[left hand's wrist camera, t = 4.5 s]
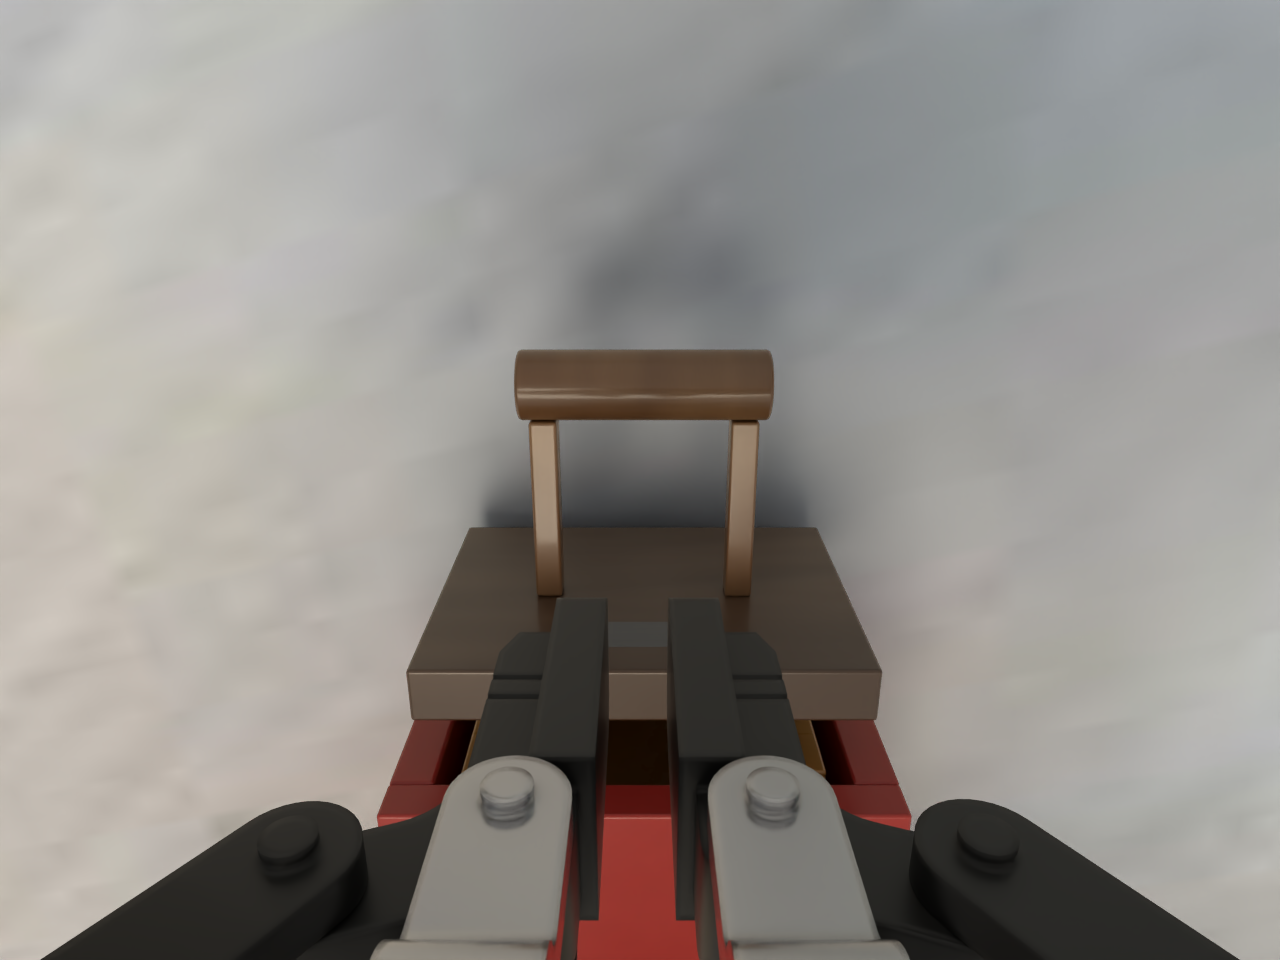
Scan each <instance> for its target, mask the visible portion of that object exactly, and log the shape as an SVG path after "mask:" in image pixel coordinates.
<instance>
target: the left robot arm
mask: <svg viewBox="0 0 1280 960" xmlns="http://www.w3.org/2000/svg"><path fill="white" fill-rule="evenodd" d="M608 735H609V646H608V601H607V598H557V600H556V605H555V611H554V616H553V622H552V627H551V632H519V633H518V634H517V635H516V636H515V637H514V638H513V639H512V640H511V641H510V642H509V643H508V644H507V645H506V646H505V647H504V648H503V649H502V650H501V651H500V652H499V655H498V658H497V662H496V666H495V669H494V673H493V680H491V684H490V688H489V691H488V699H486V702H485V706H484V709H483V713H482V717H481V720H480V724H479V728H478V731H477V735H476V738H475V742H474V746H473V749H472V753H471V757H470V760H469V764H468V768H467V770H465V771H464V772H463V773H461V774H460V775H459V776H458V777H457V778H456V779H455V780H454V781H453V782H452V783H451V784H450V786H449V787H448V789H447V790H446V793H445V795H444V798H443V801H442V803H440V804H439V805H437V806H436V807H435V808H433V809H431V810H429V811H427V812H425V813H423V814H421V815H418V816H416V817H413V818H411V819H407V820H404V821H401V822H397V823H393V824H389V825H384V826H380V827H376V828H372V829H368V830H364V831H362V827H361V825H360V822H359V820H358V819H357V818H356V816H355V815H354V814H353V813H352V812H350V811H349V810H348V809H346V808H344V807H342V806H340V805H337V804H333V803H329V802H321V801H307V802H299V803H293V804H289V805H285V806H281V807H279V808H276V809H273V810H270V811H268V812H266V813H264V814H262V815H260V816H258V817H256V818H254V819H253V820H251V821H249V822H248V823H246V824H245V825H243V826H242V827H240V828H239V829H237V830H236V831H234V832H233V833H231V834H230V835H228V836H227V837H225V838H224V839H222V840H221V841H219V842H218V843H216V844H215V845H213V846H212V847H210V848H209V849H207V850H205V851H204V852H202V853H201V854H199V855H198V856H196V857H195V858H193V859H192V860H190V861H189V862H187V863H186V864H184V865H183V866H181V867H180V868H178V869H177V870H175V871H174V872H172V873H171V874H169V875H168V876H166V877H165V878H163V879H162V880H160V881H159V882H157V883H156V884H154V885H153V886H151V887H150V888H148V889H147V890H145V891H144V892H142V893H141V894H139V895H138V896H136V897H135V898H133V899H131V900H130V901H128V902H127V903H125V904H124V905H122V906H121V907H119V908H118V909H116V910H115V911H113V912H112V913H110V914H109V915H107V916H106V917H104V918H103V919H101V920H100V921H98V922H97V923H95V924H94V925H92V926H91V927H89V928H88V929H86V930H85V931H83V932H82V933H80V934H79V935H77V936H76V937H74V938H73V939H71V940H70V941H68V942H67V943H65V944H64V945H62V946H60V947H59V948H57V949H56V950H54V951H53V952H51V953H50V954H48V955H47V956H45V957H44V958H42V959H41V960H578V953H577V944H578V932H579V921H599V905H600V887H601V868H602V849H603V830H604V811H605V792H606V773H607V754H608ZM667 739H668V760H669V782H670V804H671V826H672V847H673V869H674V891H675V913H676V921H695V929H696V943H697V952H698V957H699V960H1239V959H1238V958H1236V957H1235V956H1233V955H1232V954H1230V953H1229V952H1227V951H1226V950H1224V949H1223V948H1221V947H1220V946H1218V945H1216V944H1215V943H1213V942H1212V941H1210V940H1209V939H1207V938H1206V937H1204V936H1203V935H1201V934H1200V933H1198V932H1197V931H1195V930H1194V929H1192V928H1191V927H1189V926H1188V925H1186V924H1185V923H1183V922H1182V921H1180V920H1179V919H1177V918H1176V917H1174V916H1173V915H1171V914H1170V913H1168V912H1167V911H1165V910H1164V909H1162V908H1161V907H1159V906H1158V905H1156V904H1155V903H1153V902H1152V901H1150V900H1149V899H1147V898H1145V897H1144V896H1142V895H1141V894H1139V893H1138V892H1136V891H1135V890H1133V889H1132V888H1130V887H1129V886H1127V885H1126V884H1124V883H1123V882H1121V881H1120V880H1118V879H1117V878H1115V877H1114V876H1112V875H1111V874H1109V873H1108V872H1106V871H1105V870H1103V869H1102V868H1100V867H1099V866H1097V865H1096V864H1094V863H1093V862H1091V861H1090V860H1088V859H1087V858H1085V857H1084V856H1082V855H1081V854H1079V853H1078V852H1076V851H1074V850H1073V849H1071V848H1070V847H1068V846H1067V845H1065V844H1064V843H1062V842H1061V841H1059V840H1058V839H1056V838H1055V837H1053V836H1052V835H1050V834H1049V833H1047V832H1046V831H1044V830H1043V829H1041V828H1040V827H1038V826H1037V825H1035V824H1034V823H1032V822H1031V821H1029V820H1028V819H1026V818H1024V817H1023V816H1021V815H1019V814H1017V813H1016V812H1013V811H1011V810H1009V809H1007V808H1004V807H1002V806H999V805H996V804H993V803H988V802H984V801H979V800H971V799H956V800H947V801H944V802H940V803H937V804H935V805H933V806H931V807H929V808H928V809H927V810H925V811H924V812H923V813H922V814H921V816H920V817H919V818H918V820H917V823H916V825H915V831H910V830H906V829H902V828H898V827H893V826H889V825H885V824H881V823H877V822H873V821H870V820H866V819H863V818H860V817H858V816H855V815H853V814H851V813H849V812H847V811H845V810H843V809H841V808H840V807H839V804H838V801H837V798H836V795H835V793H834V790H833V789H832V787H831V786H830V784H829V783H828V782H827V781H826V780H825V779H824V778H823V777H822V776H821V775H820V774H819V773H817V772H816V771H815V770H813V769H812V768H810V767H808V766H806V762H805V759H804V755H803V751H802V747H801V744H800V740H799V736H798V732H797V729H796V725H795V721H794V717H793V714H792V710H791V706H790V702H789V699H787V691H786V687H785V684H784V680H782V672H781V668H780V665H779V661H778V657H777V653H776V651H775V650H774V649H773V648H772V647H771V646H770V645H769V644H768V643H767V642H766V641H765V640H764V639H763V638H762V637H761V636H760V635H759V634H758V633H757V632H725V631H724V625H723V619H722V614H721V608H720V602H719V598H668V634H667Z"/></svg>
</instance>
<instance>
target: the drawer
mask: <svg viewBox="0 0 1280 960" xmlns="http://www.w3.org/2000/svg"><path fill="white" fill-rule="evenodd" d="M514 394H515V405H516V411H517V415H518V417H519V419H521V420H530V423H529V444H530V465H531V486H532V508H533V528H469V531H468V533H467V535H466V537H465V540H464V542H463V544H462V547H461V549H460V551H459V553H458V556H457V558H456V560H455V562H454V565H453V567H452V569H451V572H450V574H449V576H448V578H447V581H446V583H445V585H444V587H443V590H442V592H441V594H440V596H439V599H438V601H437V603H436V606H435V608H434V610H433V612H432V615H431V617H430V619H429V621H428V624H427V626H426V628H425V631H424V633H423V635H422V637H421V640H420V642H419V644H418V646H417V649H416V651H415V653H414V656H413V658H412V660H411V662H410V665H409V667H408V669H407V672H406V674H407V683H408V692H409V700H410V709H411V717H412V719H413V720H476V723H475V726H474V730H473V733H472V737H471V740H470V744H469V747H468V751H467V755H466V758H465V762H464V765H463V769H462V773H463V772H464V771H465V770H467V768H468V764H469V760H470V757H471V753H472V749H473V746H474V742H475V738H476V735H477V731H478V728H479V724H480V720H481V717H482V713H483V709H484V706H485V702H486V699H488V691H489V688H490V684H491V680H493V673H494V669H495V666H496V662H497V658H498V655H499V652H500V651H501V650H502V649H503V648H504V647H505V646H506V645H507V644H508V643H509V642H510V641H511V640H512V639H513V638H514V637H515V636H516V635H517V634H518V633H519V632H551V627H552V622H553V616H554V611H555V605H556V600H557V598H607V601H608V646H609V735H608V754H607V773H606V785H670V782H669V760H668V739H667V634H668V598H719V602H720V608H721V614H722V619H723V625H724V631H725V632H757V633H758V634H759V635H760V636H761V637H762V638H763V639H764V640H765V641H766V642H767V643H768V644H769V645H770V646H771V647H772V648H773V649H774V650H775V651H776V653H777V657H778V661H779V665H780V668H781V672H782V680H784V684H785V687H786V691H787V699H789V702H790V706H791V710H792V714H793V717H794V721H795V725H796V729H797V732H798V736H799V740H800V744H801V747H802V751H803V755H804V759H805V762H806V766H808V767H810V768H812V769H813V770H815V771H816V772H817V773H819V774H820V775H821V776H822V777H823V778H824V779H825V780H826V770H825V766H824V763H823V760H822V756H821V753H820V749H819V746H818V743H817V739H816V736H815V732H814V729H813V726H812V722H811V720H876V718H877V713H878V704H879V696H880V687H881V678H882V670H881V668H880V666H879V664H878V661H877V659H876V657H875V655H874V653H873V650H872V648H871V646H870V644H869V642H868V639H867V637H866V635H865V633H864V631H863V628H862V626H861V624H860V622H859V620H858V618H857V615H856V613H855V611H854V609H853V607H852V604H851V602H850V600H849V598H848V596H847V593H846V591H845V589H844V587H843V585H842V582H841V580H840V578H839V576H838V574H837V572H836V569H835V567H834V565H833V563H832V561H831V558H830V556H829V554H828V552H827V550H826V547H825V545H824V543H823V541H822V539H821V536H820V534H819V532H818V530H817V528H754V523H755V504H756V484H757V464H758V445H759V422H758V420H767V419H769V417H770V415H771V412H772V407H773V398H774V366H773V359H772V355H771V352H770V351H768V350H520V351H518V353H517V356H516V360H515V370H514ZM559 420H729V434H728V461H727V487H726V513H725V528H562V500H561V472H560V443H559Z"/></svg>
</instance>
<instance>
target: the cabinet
mask: <svg viewBox="0 0 1280 960" xmlns="http://www.w3.org/2000/svg"><path fill="white" fill-rule="evenodd" d="M811 722H812V726H813V729H814V732H815V736H816V739H817V743H818V746H819V749H820V753H821V756H822V760H823V763H824V766H825V770H826V781H827V782H828V783H829V784H830V786H831V787H832V789H833V790H834V793H835V795H836V798H837V801H838V804H839V807H840V808H841V809H843V810H845V811H847V812H849V813H851V814H853V815H855V816H858V817H860V818H863V819H866V820H870V821H873V822H877V823H881V824H885V825H889V826H893V827H898V828H902V829H906V830H910V824H911V817H912V816H911V814H910V811H909V809H908V806H907V804H906V801H905V799H904V796H903V794H902V791H901V789H900V787H899V783H898V780H897V778H896V775H895V773H894V770H893V768H892V766H891V763H890V761H889V758H888V756H887V753H886V751H885V748H884V746H883V743H882V741H881V738H880V736H879V733H878V731H877V728H876V726H875V723H874V721H873V720H811ZM475 723H476V720H414V723H413V725H412V728H411V731H410V733H409V736H408V738H407V741H406V743H405V746H404V749H403V751H402V754H401V756H400V759H399V761H398V764H397V766H396V769H395V772H394V774H393V777H392V779H391V782H390V786H389V787H388V789H387V792H386V794H385V797H384V799H383V802H382V805H381V807H380V810H379V812H378V815H377V821H378V827H380V826H384V825H389V824H393V823H397V822H401V821H404V820H407V819H411V818H413V817H416V816H418V815H421V814H423V813H425V812H427V811H429V810H431V809H433V808H435V807H436V806H437V805H439V804H440V803H442V801H443V798H444V795H445V793H446V790H447V789H448V787H449V786H450V784H451V783H452V782H453V781H454V780H455V779H456V778H457V777H458V776H459V775H460V774H461V773H462V769H463V765H464V762H465V758H466V755H467V751H468V747H469V744H470V740H471V737H472V733H473V730H474V726H475ZM577 953H578V960H699V957H698V952H697V943H696V929H695V921H676V913H675V891H674V869H673V847H672V826H671V804H670V785H606V792H605V811H604V830H603V849H602V868H601V887H600V905H599V921H579V932H578V944H577Z"/></svg>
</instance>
